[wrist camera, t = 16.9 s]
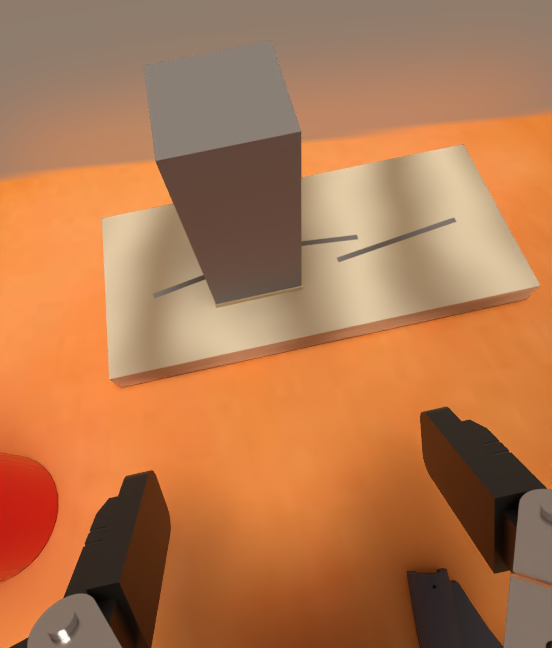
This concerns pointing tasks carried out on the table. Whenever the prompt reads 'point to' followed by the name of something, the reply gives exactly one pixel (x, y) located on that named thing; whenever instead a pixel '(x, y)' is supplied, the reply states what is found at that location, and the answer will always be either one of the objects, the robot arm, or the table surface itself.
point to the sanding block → (232, 167)
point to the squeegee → (446, 614)
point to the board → (316, 269)
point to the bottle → (24, 512)
